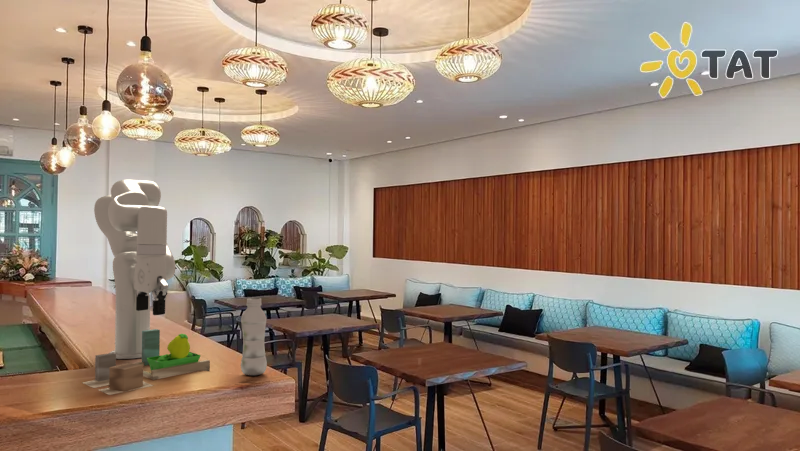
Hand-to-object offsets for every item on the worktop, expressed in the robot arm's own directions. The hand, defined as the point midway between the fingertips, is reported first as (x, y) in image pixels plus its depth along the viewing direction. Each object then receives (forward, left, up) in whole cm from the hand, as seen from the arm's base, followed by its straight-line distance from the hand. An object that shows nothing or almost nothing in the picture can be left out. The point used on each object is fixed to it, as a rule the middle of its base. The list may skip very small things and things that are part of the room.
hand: (150, 312), depth 152 cm
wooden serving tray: (+9, 0, -15) cm, 18 cm away
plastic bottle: (+29, +14, -15) cm, 35 cm away
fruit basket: (+14, 0, -16) cm, 21 cm away
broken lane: (+16, -15, -15) cm, 27 cm away
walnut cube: (+20, -15, -14) cm, 29 cm away
